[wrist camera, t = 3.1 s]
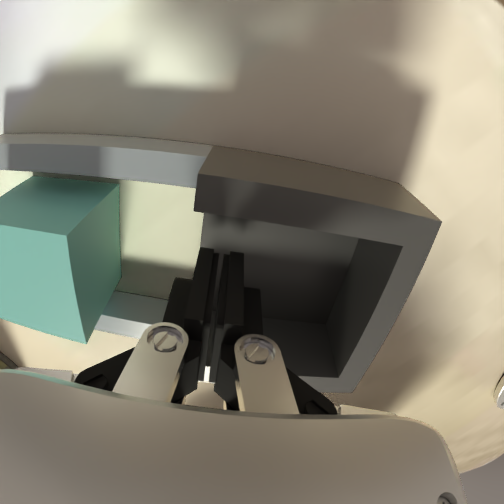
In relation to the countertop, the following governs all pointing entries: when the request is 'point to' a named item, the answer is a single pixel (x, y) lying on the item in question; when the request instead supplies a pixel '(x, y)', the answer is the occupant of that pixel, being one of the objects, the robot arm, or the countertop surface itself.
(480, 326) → the countertop surface
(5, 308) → the teal block
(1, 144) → the channel
